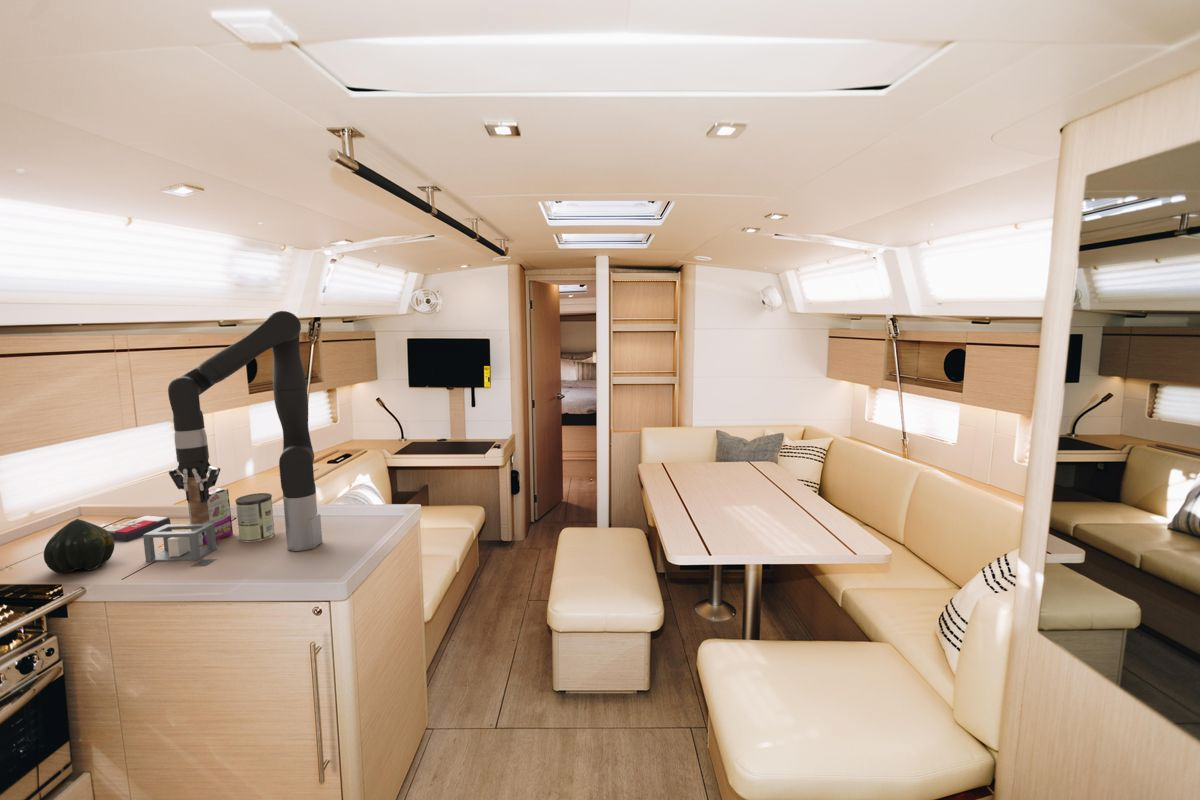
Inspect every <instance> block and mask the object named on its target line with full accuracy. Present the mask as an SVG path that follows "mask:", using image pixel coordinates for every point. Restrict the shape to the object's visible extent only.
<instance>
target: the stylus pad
mask: <svg viewBox="0 0 1200 800" xmlns="http://www.w3.org/2000/svg"><path fill="white" fill-rule="evenodd" d="M216 561H218V559H217V558H207V559H205V558H203V559H200V560H199V561H197V562H196V563H194V564H192V565H191V567H207V566H208V565H211V564H212V563H213V562H216Z"/></svg>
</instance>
